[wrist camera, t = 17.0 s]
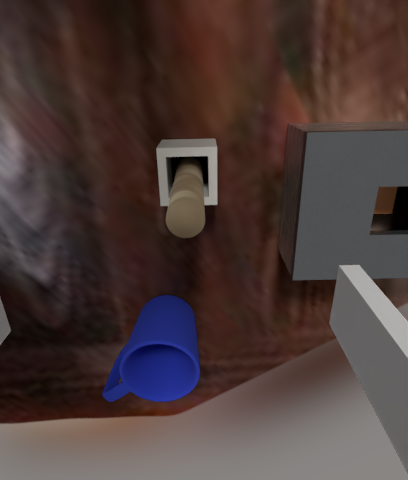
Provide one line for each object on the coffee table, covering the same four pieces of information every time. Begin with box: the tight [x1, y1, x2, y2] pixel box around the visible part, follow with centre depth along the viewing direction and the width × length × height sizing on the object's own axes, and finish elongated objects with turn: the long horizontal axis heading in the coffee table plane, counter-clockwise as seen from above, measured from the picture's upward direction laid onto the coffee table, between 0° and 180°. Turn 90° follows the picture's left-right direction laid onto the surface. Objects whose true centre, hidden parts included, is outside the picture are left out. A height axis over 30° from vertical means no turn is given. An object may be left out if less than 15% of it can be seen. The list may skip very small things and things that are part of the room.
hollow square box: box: [156, 139, 217, 206], centre depth 34 cm, size 5×5×5 cm
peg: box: [166, 157, 205, 238], centre depth 30 cm, size 3×3×15 cm
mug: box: [103, 295, 200, 402], centre depth 40 cm, size 8×12×10 cm
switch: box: [373, 186, 398, 214], centre depth 36 cm, size 4×4×2 cm
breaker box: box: [278, 121, 408, 280], centre depth 34 cm, size 18×14×7 cm
